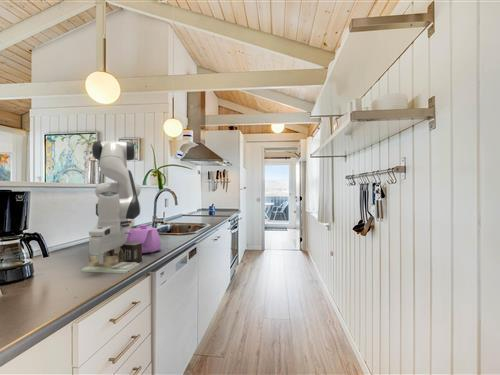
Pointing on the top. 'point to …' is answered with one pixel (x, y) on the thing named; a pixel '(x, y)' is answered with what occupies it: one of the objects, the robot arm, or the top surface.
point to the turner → (110, 263)
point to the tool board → (107, 269)
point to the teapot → (145, 238)
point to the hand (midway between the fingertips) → (109, 260)
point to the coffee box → (128, 252)
